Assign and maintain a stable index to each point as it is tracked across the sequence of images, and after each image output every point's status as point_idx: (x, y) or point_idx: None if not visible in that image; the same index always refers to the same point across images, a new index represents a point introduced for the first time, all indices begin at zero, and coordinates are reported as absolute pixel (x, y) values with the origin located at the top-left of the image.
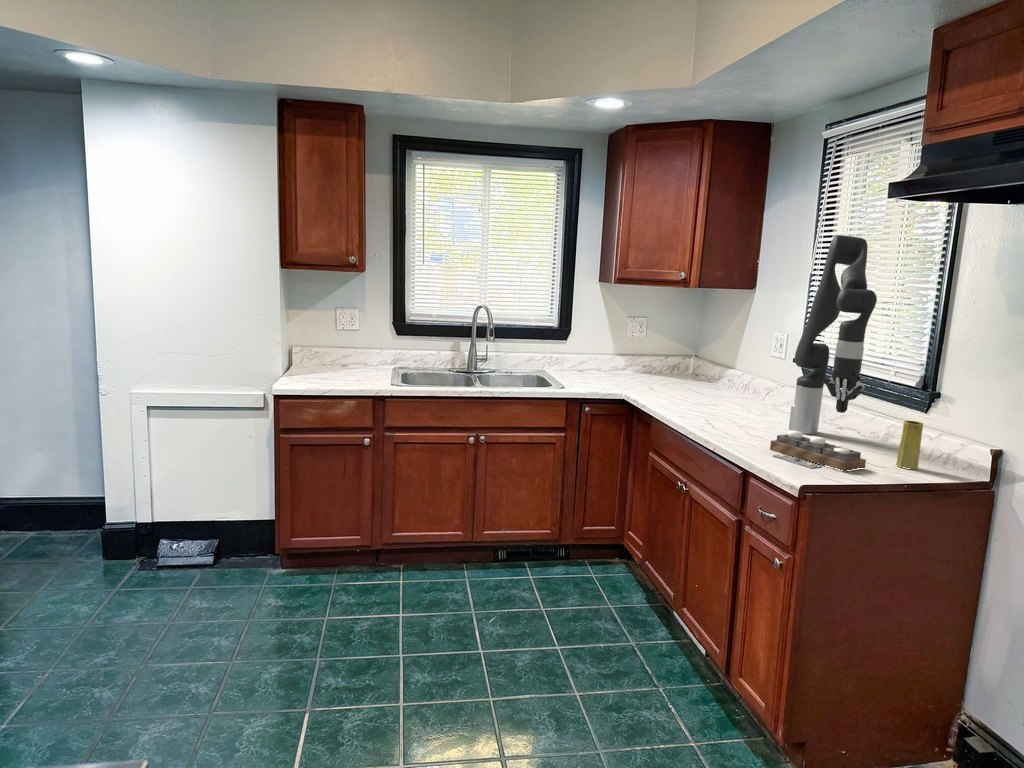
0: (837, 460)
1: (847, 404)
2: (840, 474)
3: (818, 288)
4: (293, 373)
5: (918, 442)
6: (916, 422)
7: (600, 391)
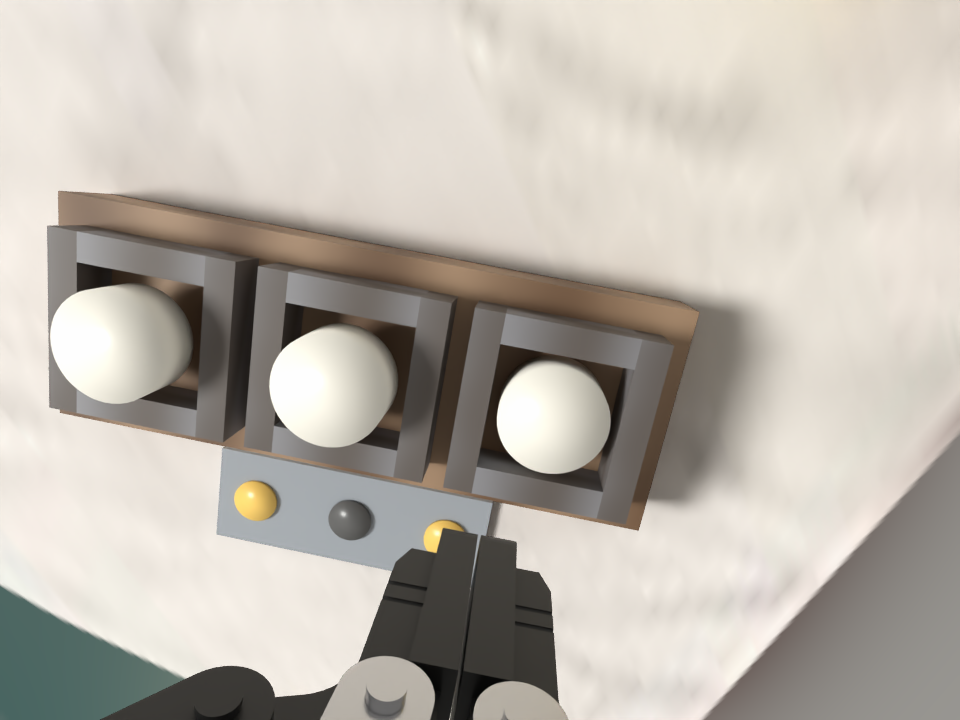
0: (580, 517)
1: (554, 671)
2: (631, 554)
3: None
4: None
5: None
6: None
7: None
